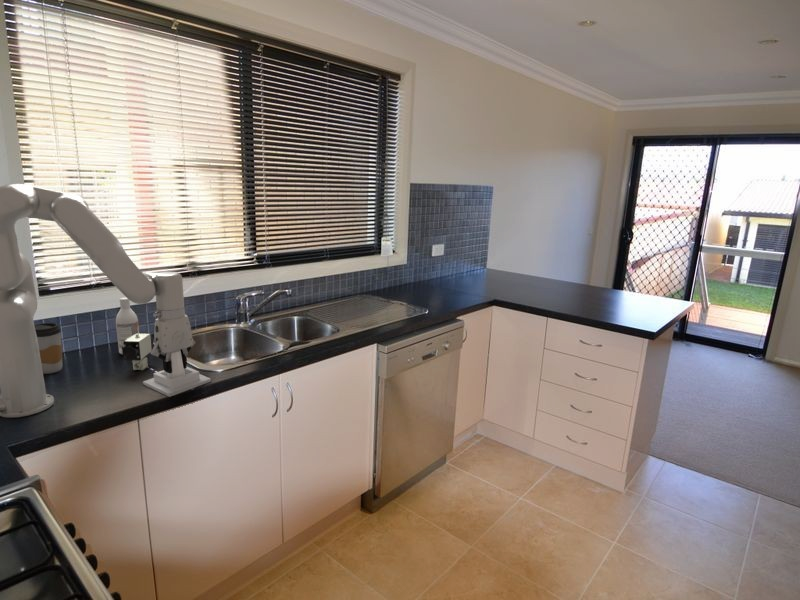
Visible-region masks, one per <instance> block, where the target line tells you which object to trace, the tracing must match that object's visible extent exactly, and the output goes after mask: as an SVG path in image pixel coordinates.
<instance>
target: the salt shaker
mask: <svg viewBox="0 0 800 600" xmlns="http://www.w3.org/2000/svg"><path fill="white" fill-rule="evenodd" d="M169 360H170V361H171V363H172V373H167V377H169V378H171V379H174V378H177V377H180V376H183V375H185V371H184V367H183V361H182V355H181V350H177V351H174V352H170V358H169Z"/></svg>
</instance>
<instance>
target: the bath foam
mask: <svg viewBox="0 0 800 600" xmlns="http://www.w3.org/2000/svg"><path fill="white" fill-rule="evenodd" d="M130 303H131V301H130V300H129V299H128V298H127V297H126V296H124V297H119V305H120V309H119V311H118V313H117V315H116V317H115V326H116V327H115V328H116V335H117V336H116V337H117V343H118V344H117V347H118V353H119V354H120V355H123V353H122V347H124V344H123V342H124V341H125V340H126V338H128V337H132V336H133V335H135V334H136V333H140V327H139V325H140V324H139V319H138V318H139V317H138V316H137V314H136V313H135V311H133V309H132V308H131V304H130Z"/></svg>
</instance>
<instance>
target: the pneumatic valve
mask: <svg viewBox="0 0 800 600" xmlns="http://www.w3.org/2000/svg"><path fill="white" fill-rule="evenodd" d="M123 344H124V347H122V353H123V354H122V357H124V360H125V361H131V362H132V367H133V368H132V369H133V371H138V370H139V371H144V370H145V369H147V368H148V367H149V365H148V357H147V356H148V355H149V354H151V351H152V349H153V344H154V337H152V333H151V332H149V333H148V332H147V333H146V332H139V333H136V334H135V335H133V336H132V337H128V338H126V340H125V341H124V342H123Z"/></svg>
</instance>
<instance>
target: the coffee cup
mask: <svg viewBox="0 0 800 600" xmlns="http://www.w3.org/2000/svg"><path fill="white" fill-rule="evenodd" d="M34 327H35V331H36V335H37V340H38V346H39V352H40V358H41V364H42V371H43V375H44V374H45V375H46V374H53V373H57V372H60V371H62V369H63V366H64V365H63V346H62V333H61V332H62V330H61V327H60V326H59V324H58V323H56V322H42V323H38V324H37V323H36V324H34Z"/></svg>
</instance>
